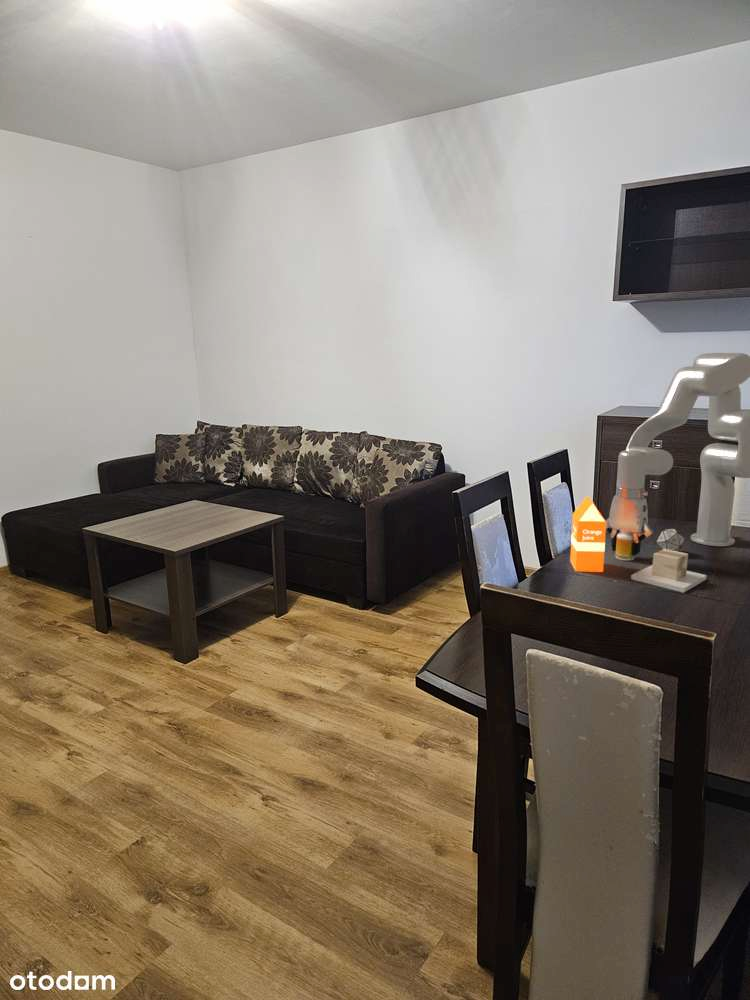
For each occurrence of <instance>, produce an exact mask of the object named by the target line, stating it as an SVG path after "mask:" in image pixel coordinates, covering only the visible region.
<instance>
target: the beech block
mask: <svg viewBox="0 0 750 1000" xmlns="http://www.w3.org/2000/svg"><path fill="white" fill-rule="evenodd" d="M652 556H653V557H652V558H653V559H652V565H653V566H652V575H654V576H658V577H662V578H666V579H670V580H674V581H676V580H678V579H680V578H682V577H684V576H685V575H686V571H688V570H687V568H688V558H689V553H686V552H681V551H679V552H677V551H672V550H668V549H663V550H662V549H661V550H658V551H657V552H654V553H653V555H652Z"/></svg>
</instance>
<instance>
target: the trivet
mask: <svg viewBox="0 0 750 1000" xmlns="http://www.w3.org/2000/svg"><path fill="white" fill-rule="evenodd" d="M652 566H653V564H651V565H649V566H647V567H644V568H642V569H641V570H639V571H637V572H635V573H633V574H631V577H630V579H631V580H634V581H636V582H641V583H645V584H648V585H652V586H656V587H660V588H665V589H667V590H673V591H676V592H679V593H683V594H684V593H686V592H687V591H690V590H691V589H692V588H695V587H696V586H698V585H699V584H701V583H702V582H704V581H706V580H707V577H708V575H706V574H703V573H699V572H694V571H690V570H687V571H686V575H685V576H684V577H682V578H680V579H678V580H676V581H674V580H670V579H666V578H662V577H658V576H654V575H652Z"/></svg>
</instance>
